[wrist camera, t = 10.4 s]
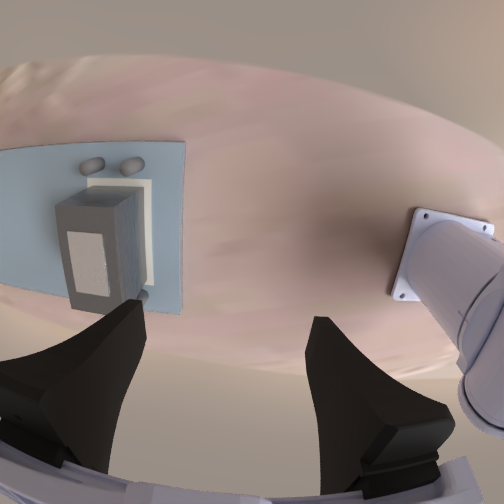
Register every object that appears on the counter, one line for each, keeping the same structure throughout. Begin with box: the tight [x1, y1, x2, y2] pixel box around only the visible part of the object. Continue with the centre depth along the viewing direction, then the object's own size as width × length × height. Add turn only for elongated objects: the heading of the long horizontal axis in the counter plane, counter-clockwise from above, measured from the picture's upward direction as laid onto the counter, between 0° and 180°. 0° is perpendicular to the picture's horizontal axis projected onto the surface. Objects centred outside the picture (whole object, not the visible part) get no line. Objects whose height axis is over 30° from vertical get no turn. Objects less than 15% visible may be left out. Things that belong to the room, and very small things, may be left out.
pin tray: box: [0, 141, 186, 315], centre depth 20 cm, size 20×13×3 cm, turn 84°
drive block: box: [55, 185, 147, 315], centre depth 18 cm, size 4×7×5 cm, turn 175°
